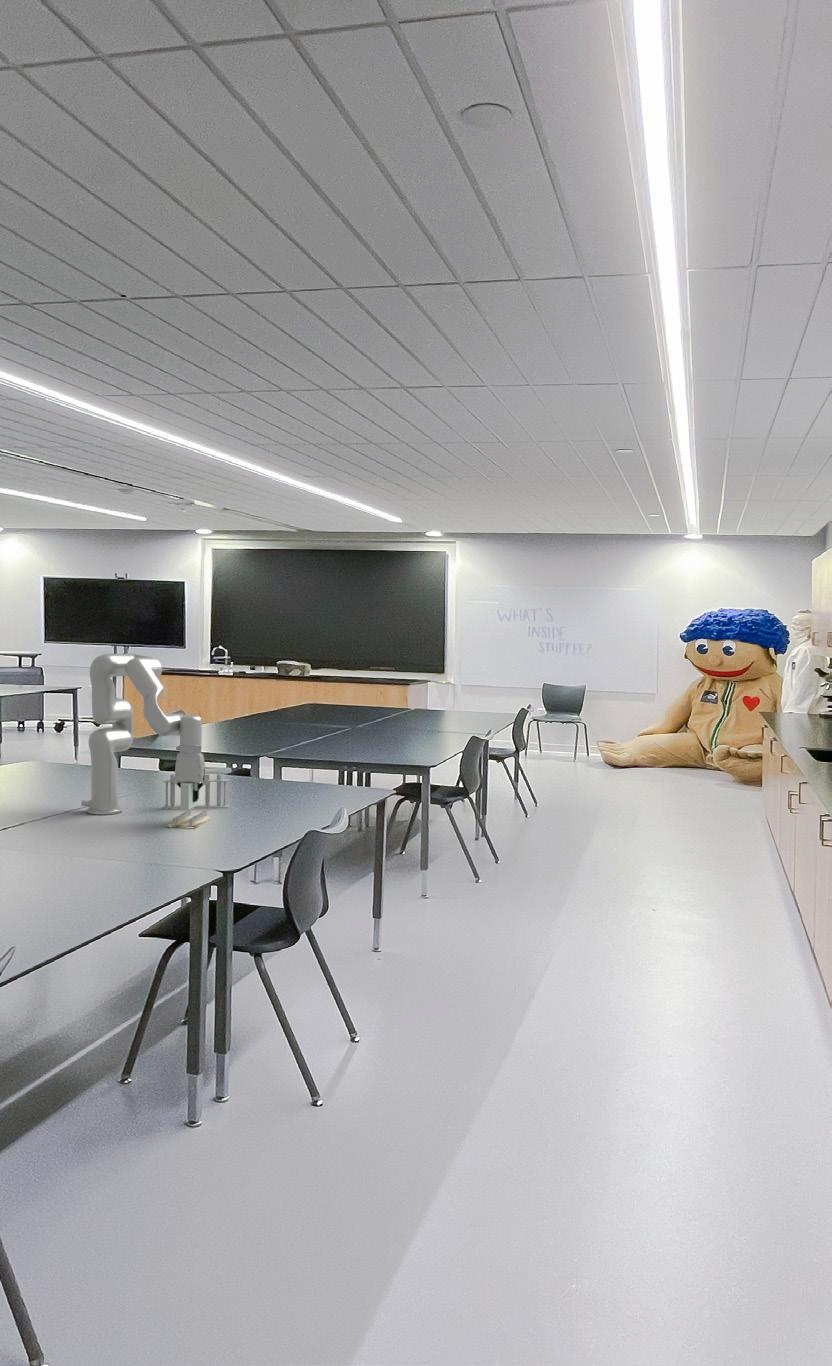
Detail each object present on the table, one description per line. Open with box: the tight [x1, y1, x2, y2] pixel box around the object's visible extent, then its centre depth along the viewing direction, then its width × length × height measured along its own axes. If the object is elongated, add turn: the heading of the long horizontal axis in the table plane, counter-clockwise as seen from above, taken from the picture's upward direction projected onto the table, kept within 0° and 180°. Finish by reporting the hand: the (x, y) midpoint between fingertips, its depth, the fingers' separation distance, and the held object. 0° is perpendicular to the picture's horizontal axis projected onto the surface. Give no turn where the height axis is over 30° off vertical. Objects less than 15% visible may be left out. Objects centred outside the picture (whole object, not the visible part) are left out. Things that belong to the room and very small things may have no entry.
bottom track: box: [167, 810, 212, 829], centre depth 355 cm, size 10×18×3 cm, turn 174°
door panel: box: [179, 782, 201, 811], centre depth 355 cm, size 3×12×9 cm, turn 174°
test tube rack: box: [162, 773, 230, 810], centre depth 385 cm, size 25×4×13 cm, turn 99°
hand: (190, 800), depth 355 cm, fingers closed on door panel, 3 cm apart
